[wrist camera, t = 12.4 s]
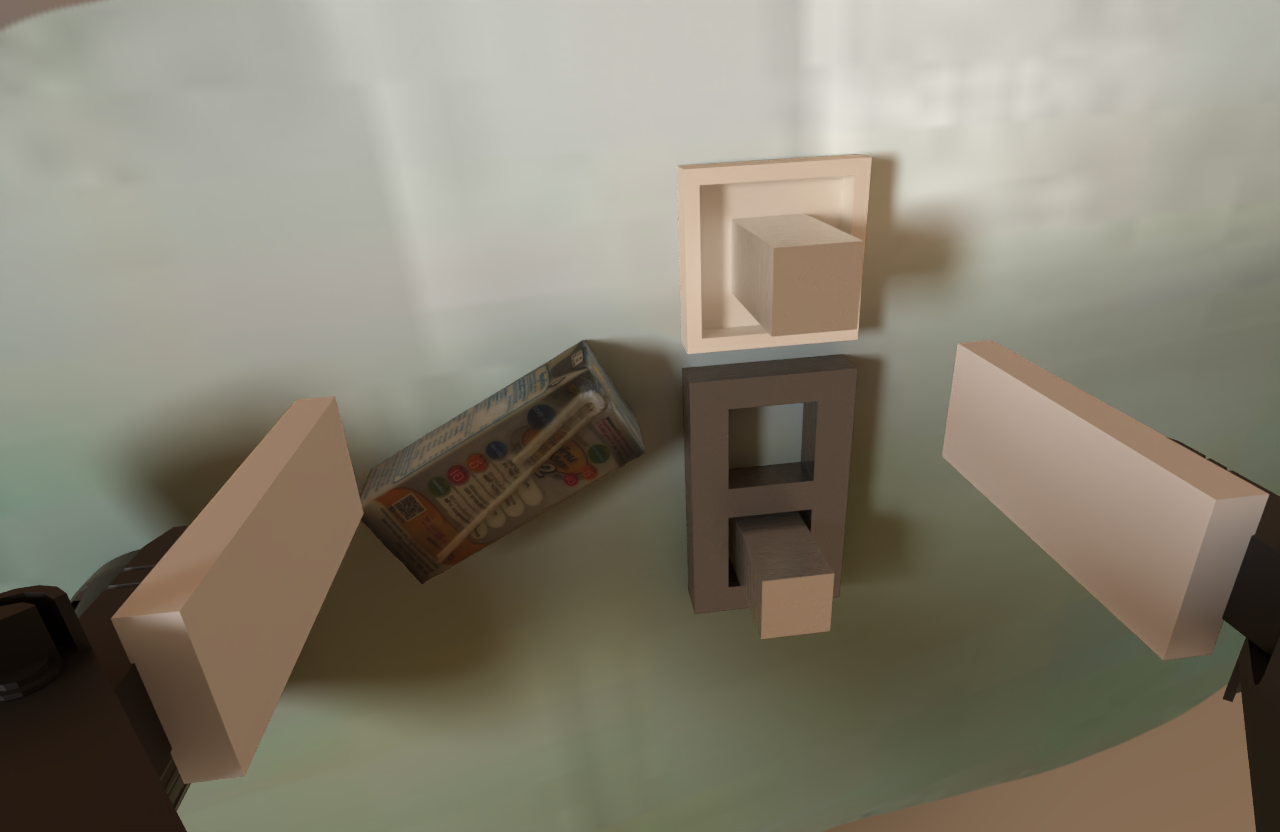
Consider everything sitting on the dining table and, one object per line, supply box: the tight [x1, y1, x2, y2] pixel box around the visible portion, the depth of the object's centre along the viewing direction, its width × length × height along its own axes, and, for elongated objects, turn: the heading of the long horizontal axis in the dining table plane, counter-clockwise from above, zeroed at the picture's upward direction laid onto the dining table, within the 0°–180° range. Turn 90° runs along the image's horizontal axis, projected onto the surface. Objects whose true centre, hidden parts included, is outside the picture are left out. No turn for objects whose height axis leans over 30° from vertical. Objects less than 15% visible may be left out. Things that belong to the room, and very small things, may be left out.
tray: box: [677, 154, 872, 354], centre depth 48 cm, size 12×12×3 cm
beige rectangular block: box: [729, 511, 834, 639], centre depth 54 cm, size 5×5×10 cm
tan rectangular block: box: [731, 214, 864, 337], centre depth 44 cm, size 5×5×10 cm
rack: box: [682, 354, 858, 614], centre depth 55 cm, size 12×20×3 cm, turn 3°
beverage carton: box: [360, 340, 645, 584], centre depth 50 cm, size 8×19×7 cm, turn 120°
